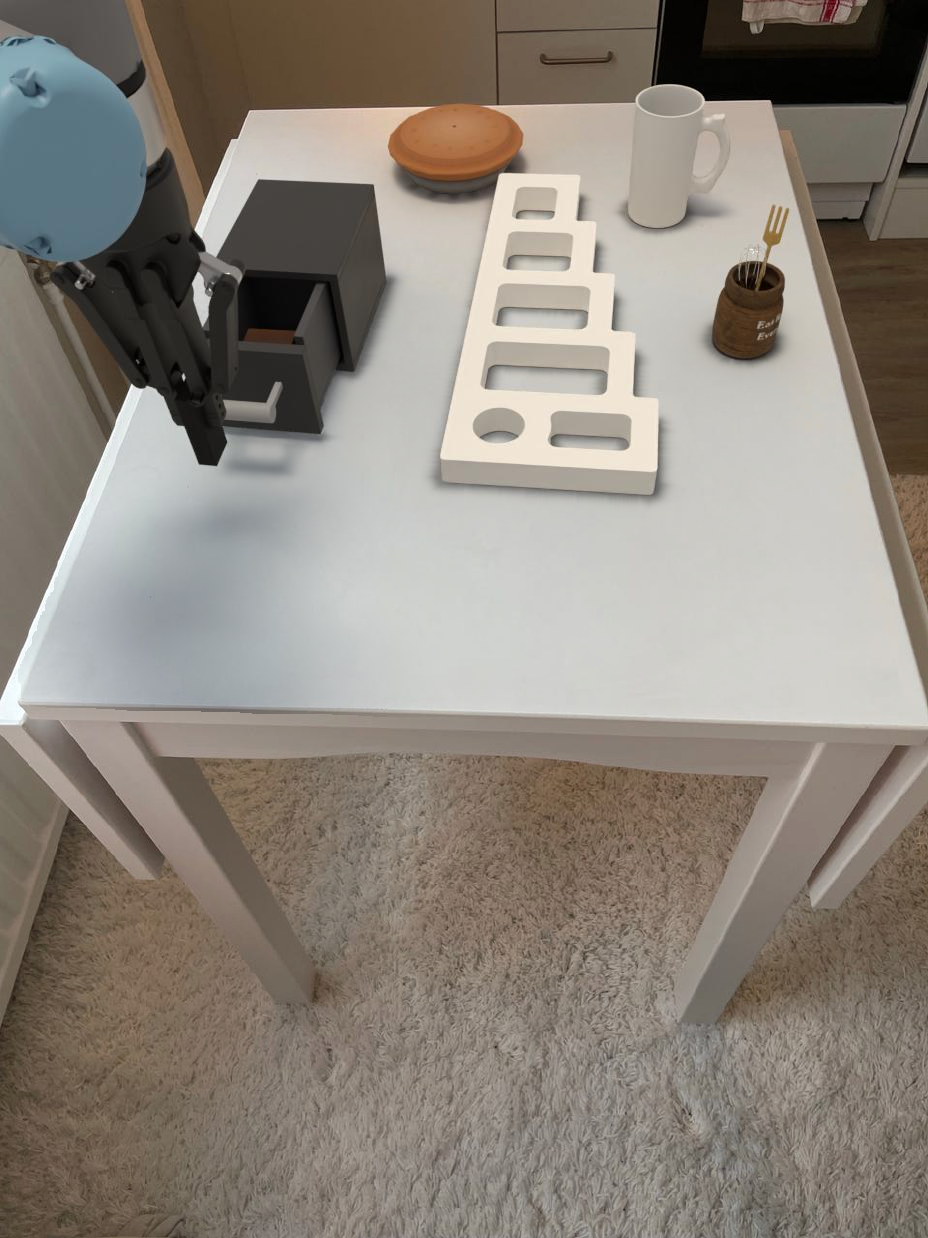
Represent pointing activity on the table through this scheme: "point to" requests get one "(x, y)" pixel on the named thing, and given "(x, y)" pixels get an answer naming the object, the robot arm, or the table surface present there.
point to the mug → (670, 153)
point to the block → (270, 336)
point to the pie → (455, 147)
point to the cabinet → (316, 247)
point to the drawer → (283, 355)
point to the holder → (546, 358)
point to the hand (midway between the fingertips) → (213, 452)
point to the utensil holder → (751, 301)
